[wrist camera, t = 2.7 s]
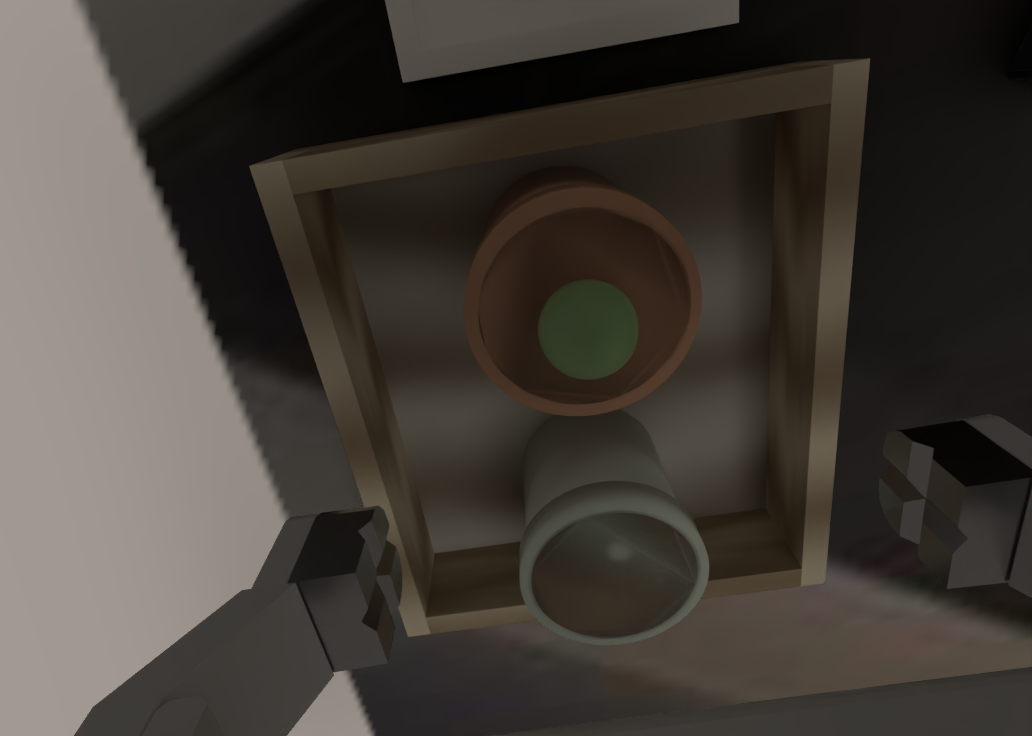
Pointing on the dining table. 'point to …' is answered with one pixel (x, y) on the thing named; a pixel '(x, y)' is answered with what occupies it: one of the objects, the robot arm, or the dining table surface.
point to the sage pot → (605, 533)
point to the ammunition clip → (1023, 61)
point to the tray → (533, 29)
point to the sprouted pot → (579, 294)
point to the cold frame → (664, 412)
